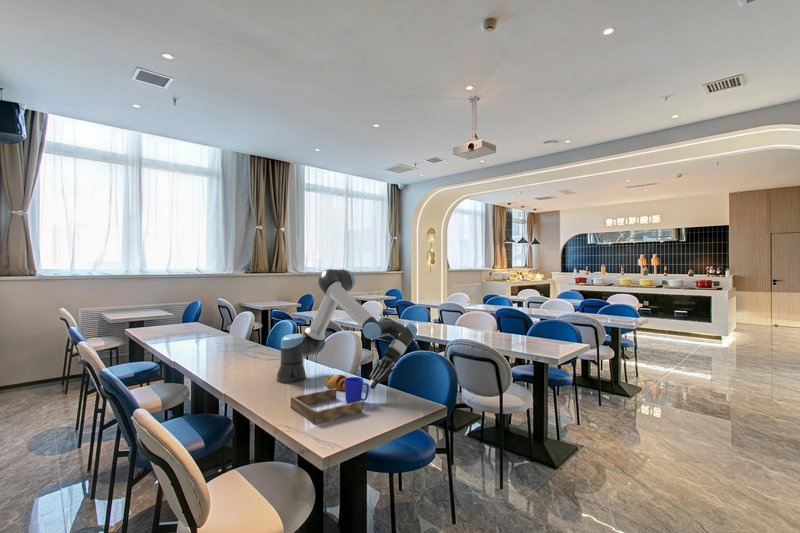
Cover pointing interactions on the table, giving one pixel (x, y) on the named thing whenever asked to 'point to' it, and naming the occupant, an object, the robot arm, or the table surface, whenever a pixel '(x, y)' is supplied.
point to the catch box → (325, 415)
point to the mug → (355, 389)
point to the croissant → (336, 382)
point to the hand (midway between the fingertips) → (365, 393)
